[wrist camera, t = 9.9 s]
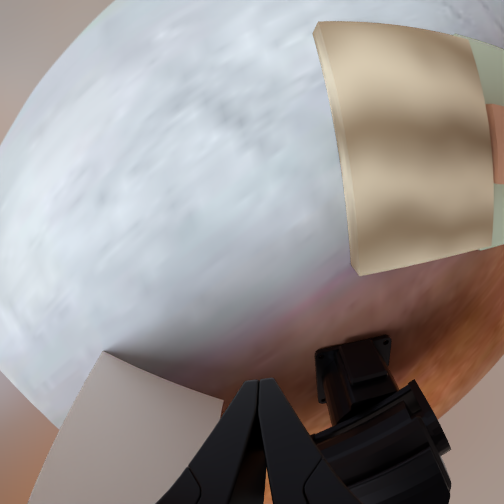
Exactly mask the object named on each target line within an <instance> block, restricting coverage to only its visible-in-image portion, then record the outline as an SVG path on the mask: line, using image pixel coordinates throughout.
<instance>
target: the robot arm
mask: <svg viewBox="0 0 504 504" xmlns="http://www.w3.org/2000/svg"><path fill="white" fill-rule="evenodd" d="M385 340H386V341H385ZM384 341H385V342H384ZM390 349H391V338H390V337H389V336H388V335H383V336H379V337H375V338H371V339H367V340H363V341H358V342H354V343H349V344H345V345H340V346H335V347H330V348H325V349H320V350H318V351H316V353H315V366H316V379H317V394H318V401H319V403H321V404H323V403H327V406H328V410H329V415H330V419H331V424H332V427H330V428H328V429H326V430H324V431H321V432H319V433H317V434H312V435H309V433H308V432H307V430H306V429H305V427H304V426H303V424H302V422H301V421H300V419H299V418H298V416H297V415H296V413H295V411H294V410H293V408H292V407H291V405H290V403H289V402H288V400H287V399H286V397H285V395H284V394H283V392H282V390H281V389H280V387H279V386H278V384H277V382H276V381H275V379H274V378H266V379H261V380H260V381H259V380H249V381H245V382H244V383H243V385H242V386H241V388H240V390H239V391H238V393H237V394H236V396H235V397H234V399H233V400H232V402H231V403H230V405H229V407H228V408H227V410H226V411H225V413H224V414H223V416H222V417H221V419H220V420H219V422H218V423H217V424H216V426H215V427H214V429H213V430H212V432H211V433H210V435H209V436H208V438H207V439H206V440H205V442H204V443H203V445H202V446H201V448H200V449H199V450H198V452H197V453H196V455H195V456H194V457H193V459H192V460H191V462H190V463H189V464H188V467H186V468H185V470H184V471H183V472H182V474H181V475H180V476H179V478H178V479H177V480H176V481H175V483H174V484H173V485H172V486H171V487H170V489H169V490H168V491H167V492H166V493H165V494H164V495H163V496H162V497H161V498H160V499H159V500H158V501H157V502H156V503H155V504H263V502H264V491H265V479H266V467H267V472H268V478H269V484H270V490H271V495H272V501H273V504H448V503H449V499H450V489H451V481H450V478H449V475H448V472H447V470H446V467H445V464H444V462H443V460H442V458H441V455H443V454H445V453H447V452H448V451H450V450H451V448H450V445H449V443H448V440H447V438H446V436H445V434H444V432H443V430H442V428H441V426H440V424H439V422H438V420H437V418H436V416H435V414H434V412H433V410H432V409H431V407H430V405H429V403H428V402H427V400H426V398H425V396H424V395H423V393H422V391H421V389H420V388H419V386H418V384H417V383H416V381H415V379H414V380H412V381H411V382H409V383H408V385H407V386H405V387H404V388H402V389H400V390H399V388H398V386H397V384H396V382H395V380H394V378H393V376H392V374H391V372H390V370H389V368H388V365H389V358H390ZM320 355H323V356H320Z"/></svg>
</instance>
